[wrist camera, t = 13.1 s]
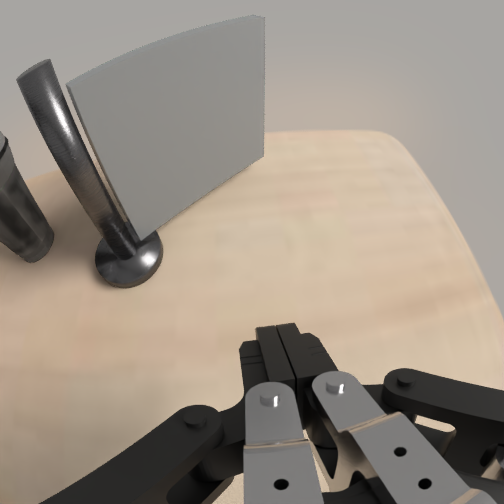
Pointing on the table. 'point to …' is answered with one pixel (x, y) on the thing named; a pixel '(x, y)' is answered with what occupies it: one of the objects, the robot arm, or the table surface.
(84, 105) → the door
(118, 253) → the hinge post
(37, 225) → the beverage cup
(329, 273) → the table surface
